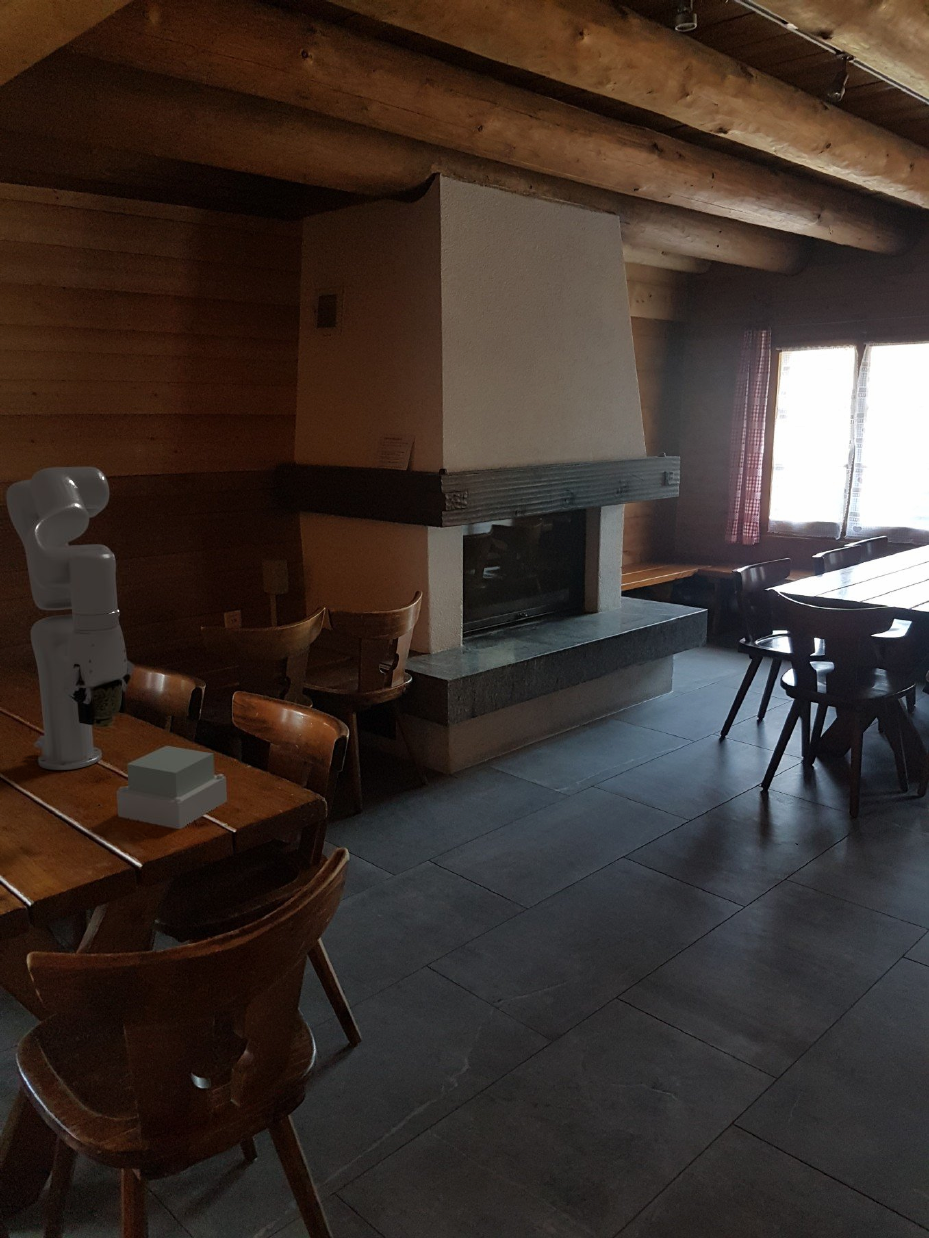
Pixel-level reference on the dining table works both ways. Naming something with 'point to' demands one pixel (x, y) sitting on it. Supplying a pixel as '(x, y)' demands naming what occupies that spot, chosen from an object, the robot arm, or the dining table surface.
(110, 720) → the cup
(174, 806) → the grey stacking block
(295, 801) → the dining table surface
